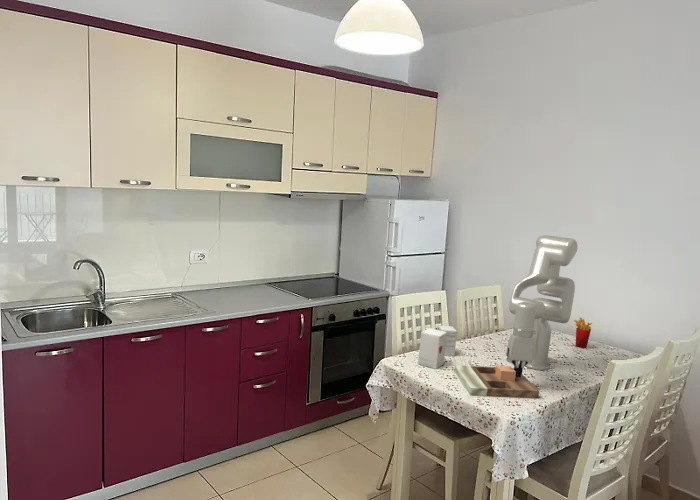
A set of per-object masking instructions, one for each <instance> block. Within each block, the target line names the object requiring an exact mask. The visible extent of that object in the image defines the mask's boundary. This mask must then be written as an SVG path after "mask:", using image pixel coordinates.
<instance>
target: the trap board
mask: <svg viewBox="0 0 700 500" xmlns="http://www.w3.org/2000/svg"><path fill="white" fill-rule="evenodd" d="M512 368H513V369H514V367H512ZM495 372H496V366H479V365H478V366H477V365H459V364H454V374H455V375H456V376H457V378H458V379H459V381H460V383H462V385H463V387H464V388H465V390H466V391H467V393H468V394H469V396H479V397H500V398H502V397H503V398H520V399H521V398H522V399H524V398H525V399H539V395H540V390H539V389H537V387H536V386H535V385H534V384H533V382H531V381H530V380H529V379H528V378H527V377H526V376H525V375H524V374H523V373H522V375H521V377H516V376H515V381H502V380H499V378H498V377H497V376H496V375H495Z"/></svg>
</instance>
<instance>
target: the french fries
mask: <svg viewBox="0 0 700 500" xmlns="http://www.w3.org/2000/svg"><path fill="white" fill-rule="evenodd" d="M574 322H575V324H574V325H575V326H576V328H575V348H580V349H584V348H588V344H589V339H590V335H591V330H592V327H591V325H592V324H593V323H592V322H587V324H586V321H585V318H584V319H583V318H582V317H579V319H578V320H576V319H574Z"/></svg>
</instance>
